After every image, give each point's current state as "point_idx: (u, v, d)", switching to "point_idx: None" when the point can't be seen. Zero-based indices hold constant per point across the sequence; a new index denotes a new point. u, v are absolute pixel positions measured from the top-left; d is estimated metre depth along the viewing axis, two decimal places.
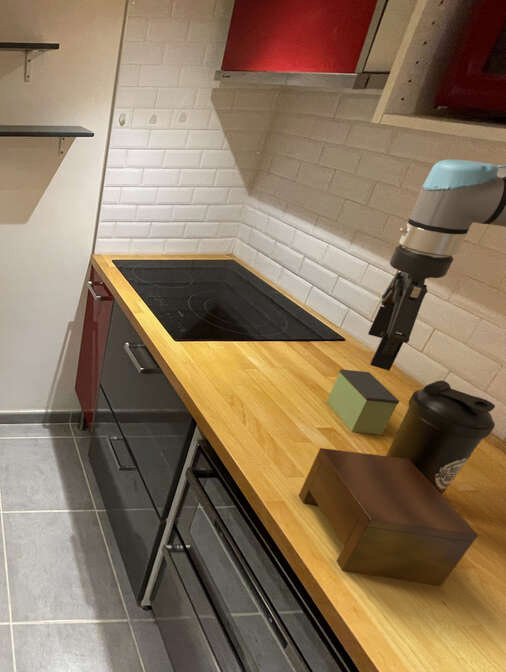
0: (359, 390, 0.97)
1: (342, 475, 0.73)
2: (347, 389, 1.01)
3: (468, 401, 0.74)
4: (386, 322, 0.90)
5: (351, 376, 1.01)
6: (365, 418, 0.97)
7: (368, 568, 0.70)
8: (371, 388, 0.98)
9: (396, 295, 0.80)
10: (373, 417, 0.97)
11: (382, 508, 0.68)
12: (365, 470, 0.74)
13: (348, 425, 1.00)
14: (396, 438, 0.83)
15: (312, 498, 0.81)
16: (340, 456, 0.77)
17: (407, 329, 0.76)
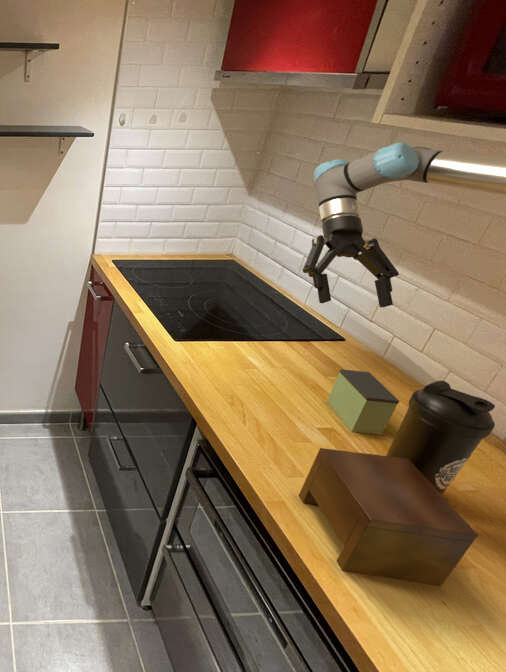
0: (359, 390, 0.97)
1: (342, 475, 0.73)
2: (347, 389, 1.01)
3: (468, 401, 0.74)
4: (383, 290, 1.04)
5: (351, 376, 1.01)
6: (365, 418, 0.97)
7: (368, 568, 0.70)
8: (371, 388, 0.98)
9: (326, 252, 1.09)
10: (373, 417, 0.97)
11: (382, 508, 0.68)
12: (365, 470, 0.74)
13: (348, 425, 1.00)
14: (396, 438, 0.83)
15: (312, 498, 0.81)
16: (340, 456, 0.77)
17: (310, 261, 1.06)
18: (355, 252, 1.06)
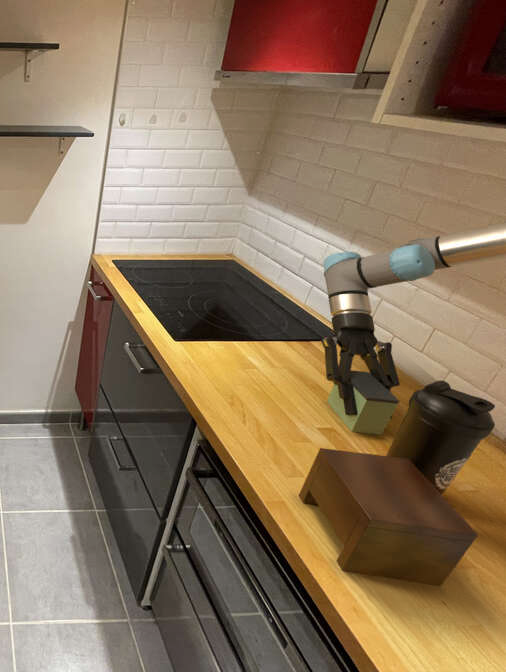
0: (359, 390, 0.97)
1: (342, 475, 0.73)
2: None
3: (468, 401, 0.74)
4: None
5: (351, 376, 1.01)
6: (365, 418, 0.97)
7: (368, 568, 0.70)
8: (371, 388, 0.98)
9: (340, 352, 1.05)
10: (373, 417, 0.97)
11: (382, 508, 0.68)
12: (365, 470, 0.74)
13: (348, 425, 1.00)
14: (396, 438, 0.83)
15: (312, 498, 0.81)
16: (340, 456, 0.77)
17: (331, 369, 1.02)
18: (366, 351, 1.02)
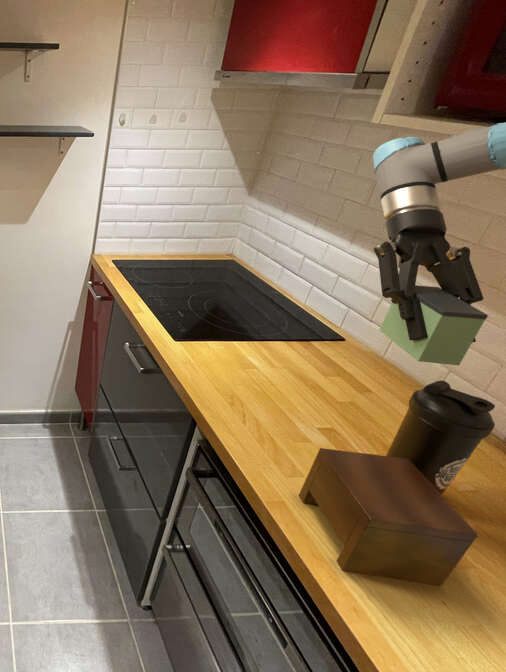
0: (430, 305, 0.73)
1: (342, 475, 0.73)
2: None
3: (468, 401, 0.74)
4: None
5: (416, 291, 0.77)
6: (439, 341, 0.72)
7: (368, 568, 0.70)
8: (446, 302, 0.73)
9: (399, 263, 0.80)
10: (449, 340, 0.72)
11: (382, 508, 0.68)
12: (365, 470, 0.74)
13: (413, 354, 0.75)
14: (396, 438, 0.83)
15: (312, 498, 0.81)
16: (340, 456, 0.77)
17: (389, 282, 0.77)
18: (436, 259, 0.77)
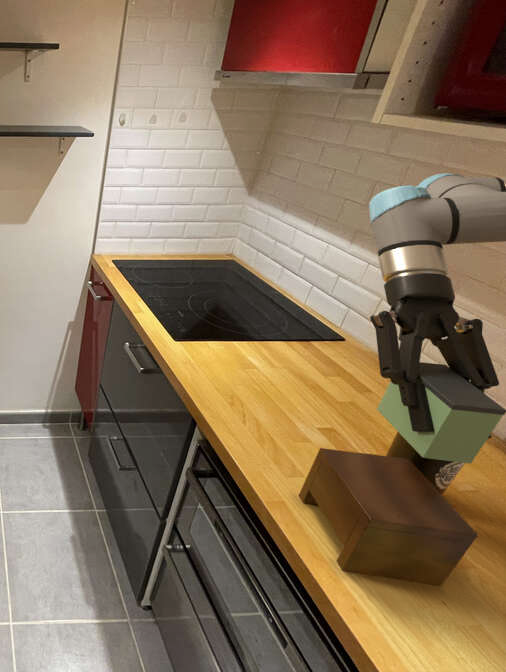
0: (437, 393, 0.61)
1: (342, 475, 0.73)
2: None
3: None
4: None
5: (420, 371, 0.65)
6: (447, 437, 0.61)
7: (368, 568, 0.70)
8: (456, 390, 0.62)
9: (400, 335, 0.69)
10: (460, 436, 0.61)
11: (382, 508, 0.68)
12: (365, 470, 0.74)
13: (416, 447, 0.64)
14: (396, 438, 0.83)
15: (312, 498, 0.81)
16: (340, 456, 0.77)
17: (388, 360, 0.66)
18: (443, 333, 0.66)
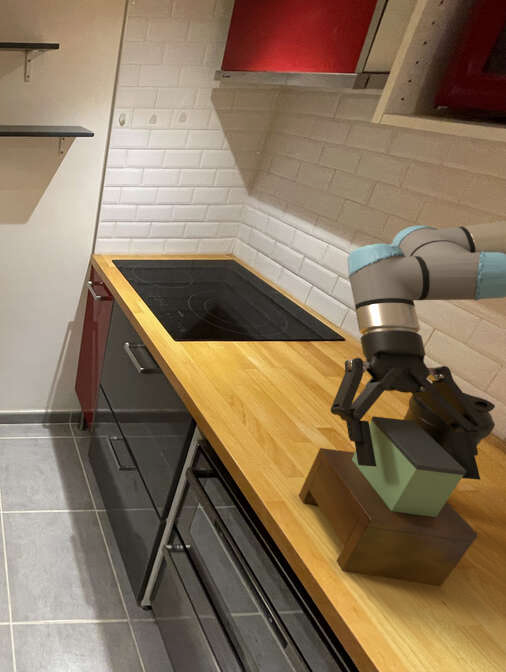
0: (404, 452, 0.66)
1: (342, 475, 0.73)
2: (384, 446, 0.70)
3: None
4: (462, 452, 0.67)
5: (389, 428, 0.70)
6: (413, 493, 0.65)
7: (368, 568, 0.70)
8: (421, 449, 0.66)
9: (368, 382, 0.73)
10: (425, 493, 0.65)
11: (382, 508, 0.68)
12: None
13: (386, 501, 0.68)
14: None
15: (312, 498, 0.81)
16: (340, 456, 0.77)
17: (341, 398, 0.71)
18: (414, 387, 0.70)
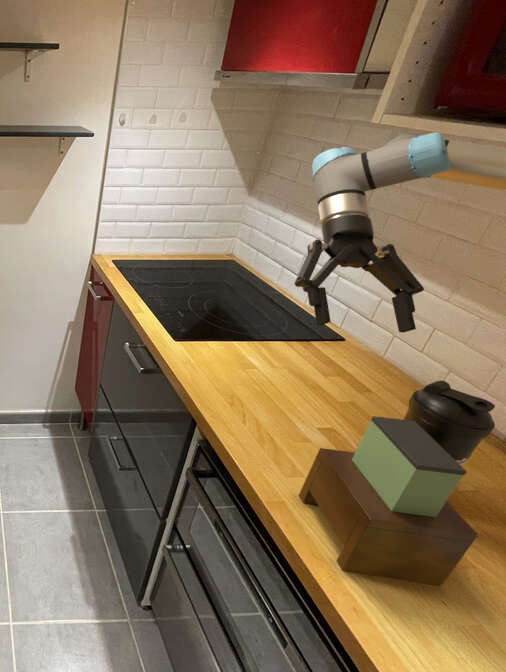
0: (404, 452, 0.66)
1: (342, 475, 0.73)
2: (384, 446, 0.70)
3: (468, 401, 0.74)
4: (402, 310, 0.80)
5: (389, 428, 0.70)
6: (413, 493, 0.65)
7: (368, 568, 0.70)
8: (421, 449, 0.66)
9: (327, 261, 0.86)
10: (425, 493, 0.65)
11: (382, 508, 0.68)
12: None
13: (386, 501, 0.68)
14: None
15: (312, 498, 0.81)
16: (340, 456, 0.77)
17: (303, 272, 0.84)
18: (364, 261, 0.83)
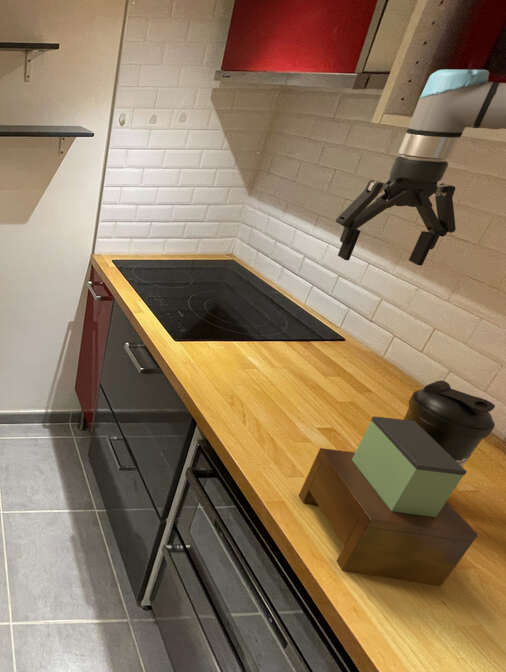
0: (404, 452, 0.66)
1: (342, 475, 0.73)
2: (384, 446, 0.70)
3: (468, 401, 0.74)
4: (422, 247, 0.91)
5: (389, 428, 0.70)
6: (413, 493, 0.65)
7: (368, 568, 0.70)
8: (421, 449, 0.66)
9: (380, 196, 0.90)
10: (425, 493, 0.65)
11: (382, 508, 0.68)
12: None
13: (386, 501, 0.68)
14: None
15: (312, 498, 0.81)
16: (340, 456, 0.77)
17: (348, 214, 0.90)
18: (414, 204, 0.87)
